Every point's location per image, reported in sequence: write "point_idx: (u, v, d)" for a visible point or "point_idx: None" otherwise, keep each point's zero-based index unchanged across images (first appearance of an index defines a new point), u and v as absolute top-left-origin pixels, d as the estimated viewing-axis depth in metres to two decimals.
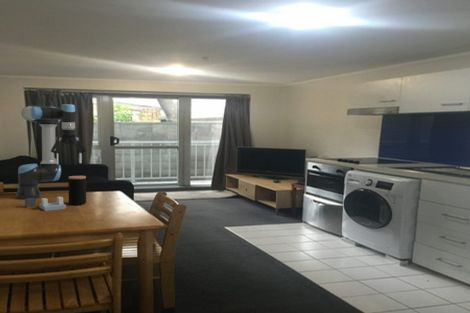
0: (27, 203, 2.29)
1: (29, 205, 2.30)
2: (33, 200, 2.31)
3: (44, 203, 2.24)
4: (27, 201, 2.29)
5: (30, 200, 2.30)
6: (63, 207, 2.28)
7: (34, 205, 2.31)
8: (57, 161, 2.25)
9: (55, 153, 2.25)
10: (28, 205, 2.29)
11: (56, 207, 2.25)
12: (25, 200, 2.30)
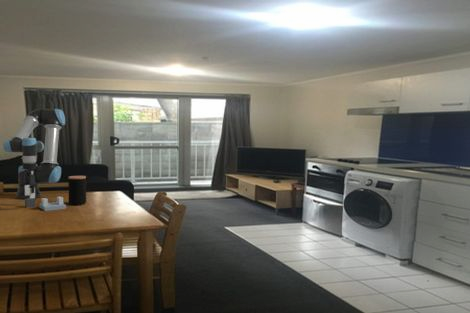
0: (27, 203, 2.29)
1: (29, 205, 2.30)
2: (33, 200, 2.31)
3: (44, 203, 2.24)
4: (27, 201, 2.29)
5: (30, 200, 2.30)
6: (63, 207, 2.28)
7: (34, 205, 2.31)
8: (24, 192, 2.35)
9: None
10: (28, 205, 2.29)
11: (56, 207, 2.25)
12: (25, 200, 2.30)
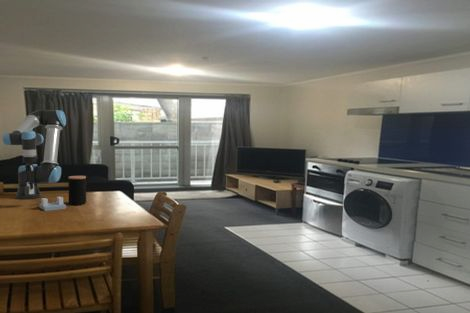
0: (27, 190, 2.29)
1: None
2: None
3: (44, 203, 2.24)
4: (27, 188, 2.29)
5: None
6: (63, 207, 2.28)
7: (34, 192, 2.31)
8: None
9: (27, 182, 2.33)
10: (28, 192, 2.29)
11: (56, 207, 2.25)
12: (25, 187, 2.30)
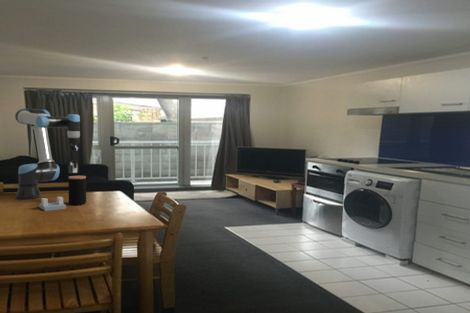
0: (71, 169, 2.46)
1: (72, 171, 2.47)
2: None
3: (44, 203, 2.24)
4: (71, 167, 2.46)
5: None
6: (63, 207, 2.28)
7: (77, 171, 2.49)
8: None
9: None
10: (72, 171, 2.46)
11: (56, 207, 2.25)
12: (69, 166, 2.47)
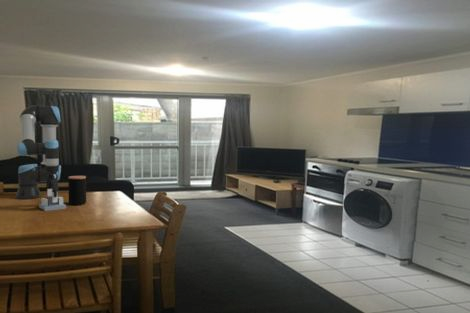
0: (49, 201, 2.27)
1: (51, 203, 2.27)
2: None
3: (44, 203, 2.24)
4: (49, 199, 2.27)
5: None
6: (63, 207, 2.28)
7: (56, 203, 2.29)
8: None
9: None
10: (50, 203, 2.27)
11: (56, 207, 2.25)
12: (47, 198, 2.28)
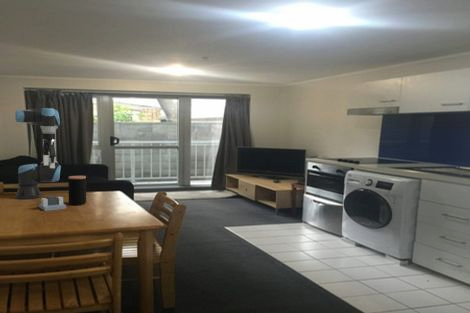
0: (49, 201, 2.27)
1: (51, 203, 2.27)
2: (55, 198, 2.29)
3: (44, 203, 2.24)
4: (49, 199, 2.27)
5: (52, 198, 2.28)
6: (63, 207, 2.28)
7: (56, 203, 2.29)
8: (43, 162, 2.38)
9: (44, 155, 2.39)
10: (50, 203, 2.27)
11: (56, 207, 2.25)
12: (47, 198, 2.28)
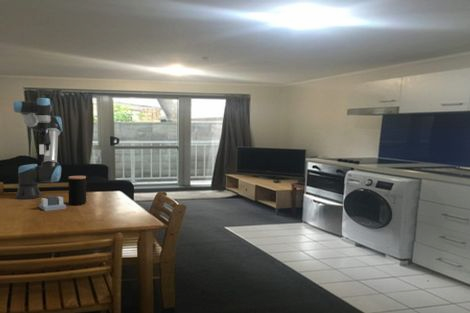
0: (49, 201, 2.27)
1: (51, 203, 2.27)
2: (55, 198, 2.29)
3: (44, 203, 2.24)
4: (49, 199, 2.27)
5: (52, 198, 2.28)
6: (63, 207, 2.28)
7: (56, 203, 2.29)
8: (39, 151, 2.45)
9: (40, 144, 2.46)
10: (50, 203, 2.27)
11: (56, 207, 2.25)
12: (47, 198, 2.28)
